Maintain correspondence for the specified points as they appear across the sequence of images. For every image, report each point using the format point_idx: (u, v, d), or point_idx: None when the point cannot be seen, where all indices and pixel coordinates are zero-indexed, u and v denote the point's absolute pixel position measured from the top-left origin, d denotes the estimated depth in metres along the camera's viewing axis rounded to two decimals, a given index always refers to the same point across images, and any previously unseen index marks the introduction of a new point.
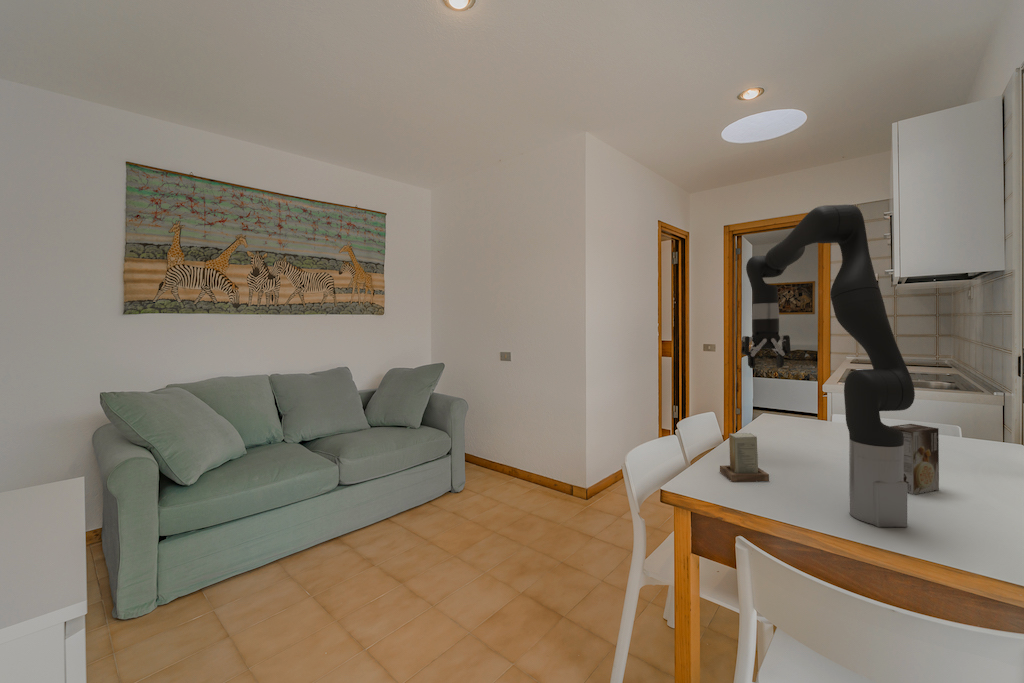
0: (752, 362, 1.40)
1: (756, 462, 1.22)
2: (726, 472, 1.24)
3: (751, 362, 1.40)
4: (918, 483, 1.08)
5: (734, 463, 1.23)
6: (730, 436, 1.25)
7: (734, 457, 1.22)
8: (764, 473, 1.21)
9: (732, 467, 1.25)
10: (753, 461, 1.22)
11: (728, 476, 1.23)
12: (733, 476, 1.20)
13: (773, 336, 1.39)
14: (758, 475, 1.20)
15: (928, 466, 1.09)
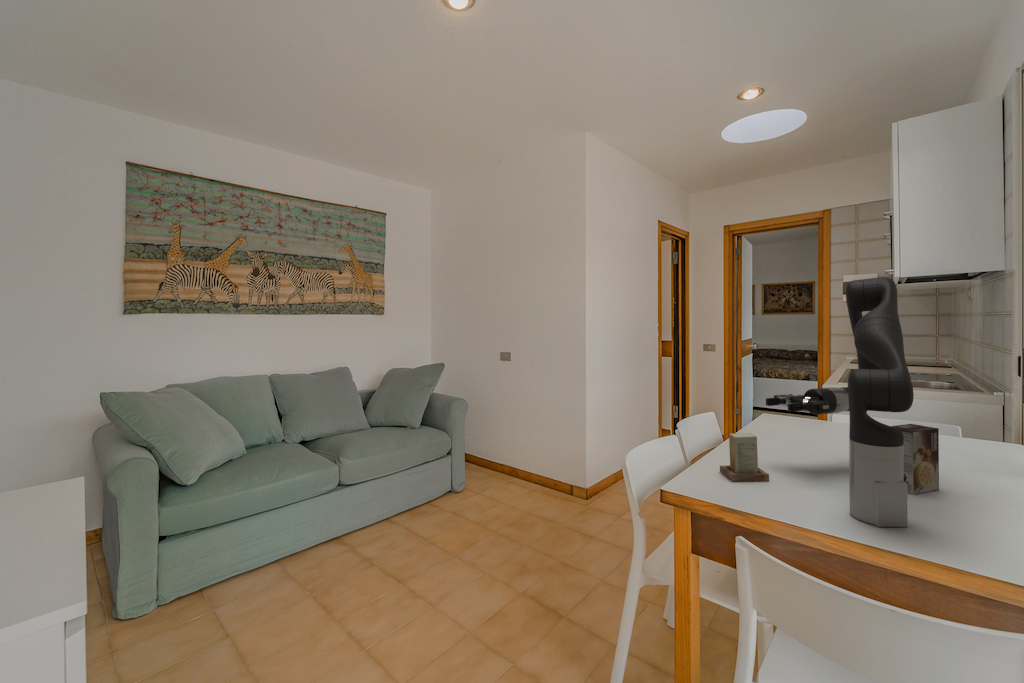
0: None
1: (756, 462, 1.22)
2: (726, 472, 1.24)
3: None
4: (918, 483, 1.08)
5: (734, 463, 1.23)
6: (730, 436, 1.25)
7: (734, 457, 1.22)
8: (764, 473, 1.21)
9: (732, 467, 1.25)
10: (753, 461, 1.22)
11: (728, 476, 1.23)
12: (733, 476, 1.20)
13: (813, 399, 1.24)
14: (758, 475, 1.20)
15: (928, 466, 1.09)
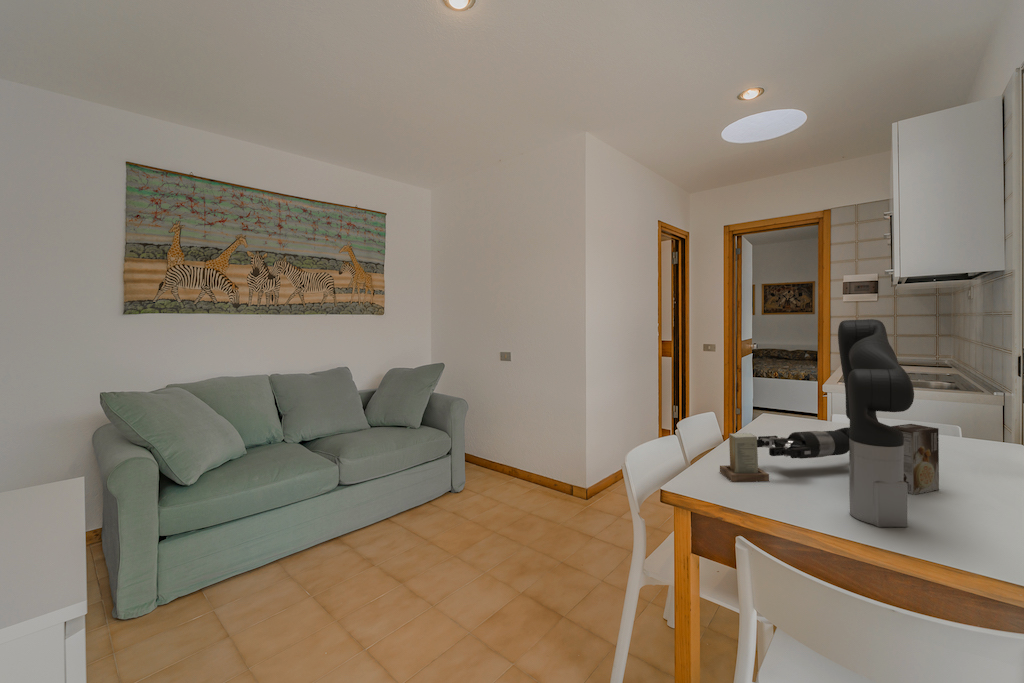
0: None
1: (756, 462, 1.22)
2: (726, 472, 1.24)
3: None
4: (918, 483, 1.08)
5: (734, 463, 1.23)
6: (730, 436, 1.25)
7: (734, 457, 1.22)
8: (764, 473, 1.21)
9: (732, 467, 1.25)
10: (753, 461, 1.22)
11: (728, 476, 1.23)
12: (733, 476, 1.20)
13: (796, 443, 1.24)
14: (758, 475, 1.20)
15: (928, 466, 1.09)
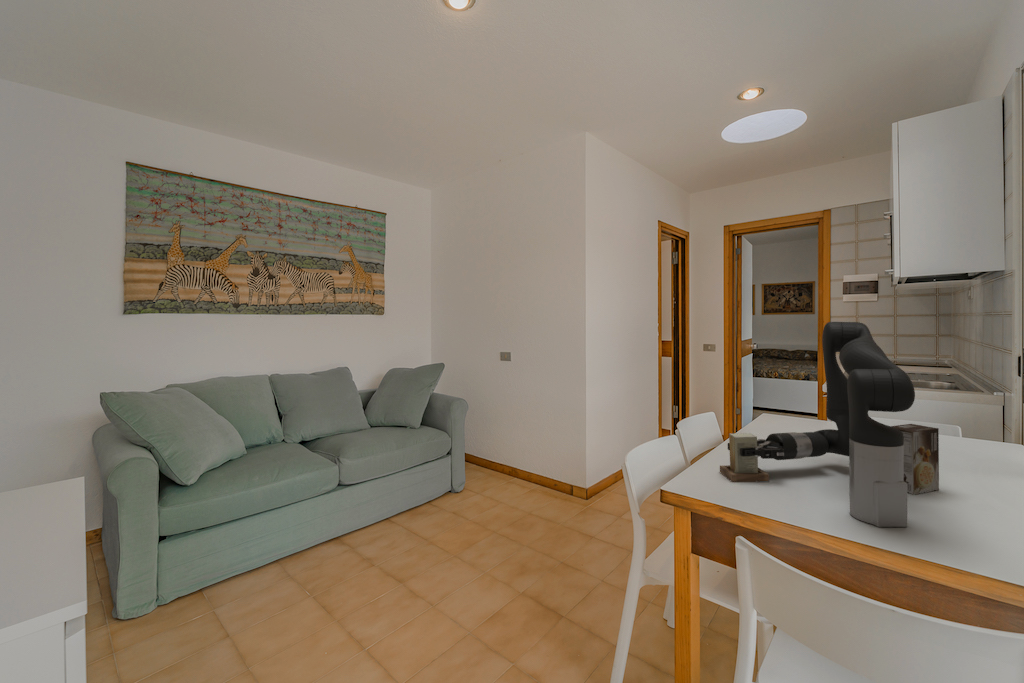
0: None
1: (756, 462, 1.22)
2: (726, 472, 1.24)
3: None
4: (918, 483, 1.08)
5: (734, 463, 1.23)
6: (730, 436, 1.25)
7: (734, 457, 1.22)
8: (764, 473, 1.21)
9: (732, 467, 1.25)
10: (753, 461, 1.22)
11: (728, 476, 1.23)
12: (733, 476, 1.20)
13: (774, 445, 1.23)
14: (758, 475, 1.20)
15: (928, 466, 1.09)
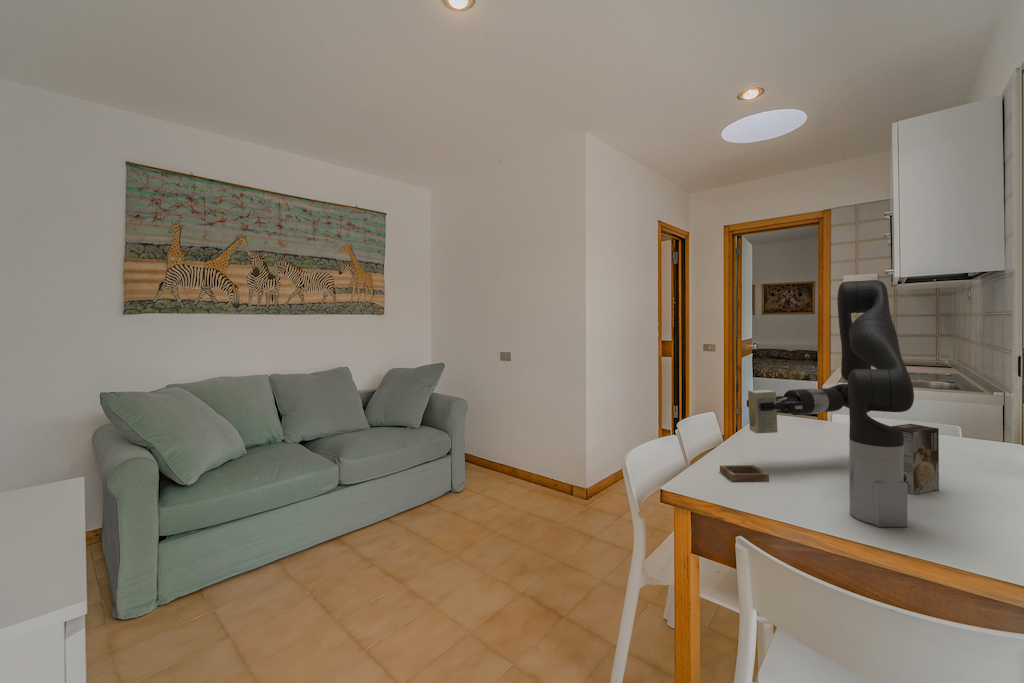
0: None
1: (775, 416, 1.26)
2: (726, 472, 1.24)
3: None
4: (918, 483, 1.08)
5: (754, 418, 1.27)
6: (749, 393, 1.29)
7: (754, 413, 1.27)
8: (764, 473, 1.21)
9: (752, 422, 1.29)
10: (773, 416, 1.26)
11: (728, 476, 1.23)
12: (733, 476, 1.20)
13: (792, 400, 1.27)
14: (758, 475, 1.20)
15: (928, 466, 1.09)
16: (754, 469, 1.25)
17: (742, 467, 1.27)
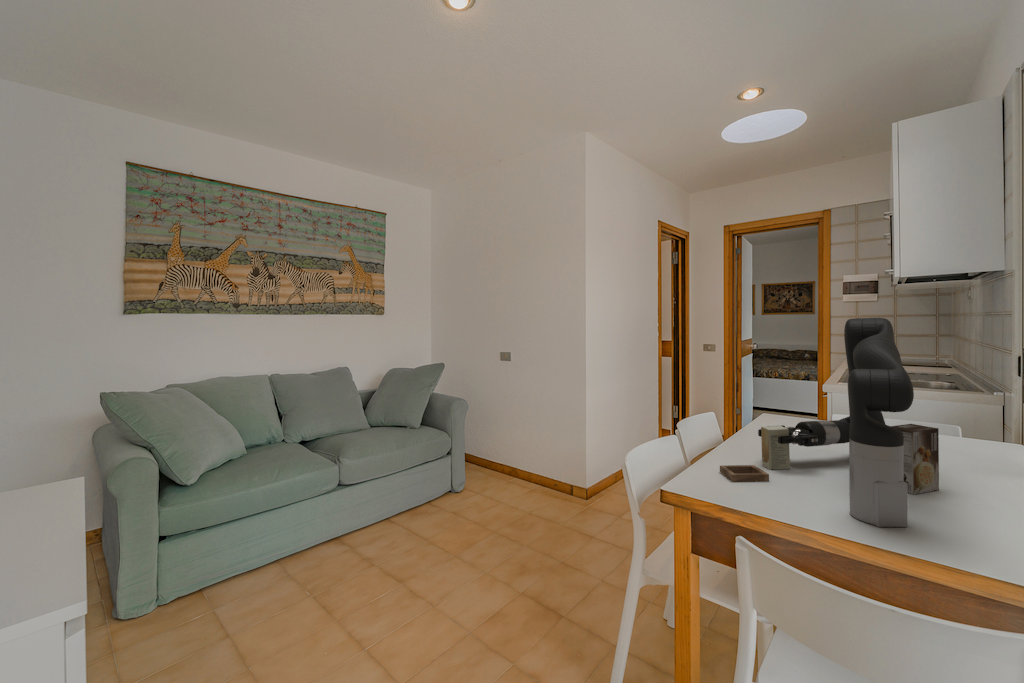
0: None
1: (788, 453, 1.29)
2: (726, 472, 1.24)
3: None
4: (918, 483, 1.08)
5: (767, 454, 1.30)
6: (762, 429, 1.32)
7: (768, 449, 1.29)
8: (764, 473, 1.21)
9: (765, 458, 1.32)
10: (785, 452, 1.29)
11: (728, 476, 1.23)
12: (733, 476, 1.20)
13: (804, 432, 1.30)
14: (758, 475, 1.20)
15: (928, 466, 1.09)
16: (754, 469, 1.25)
17: (742, 467, 1.27)
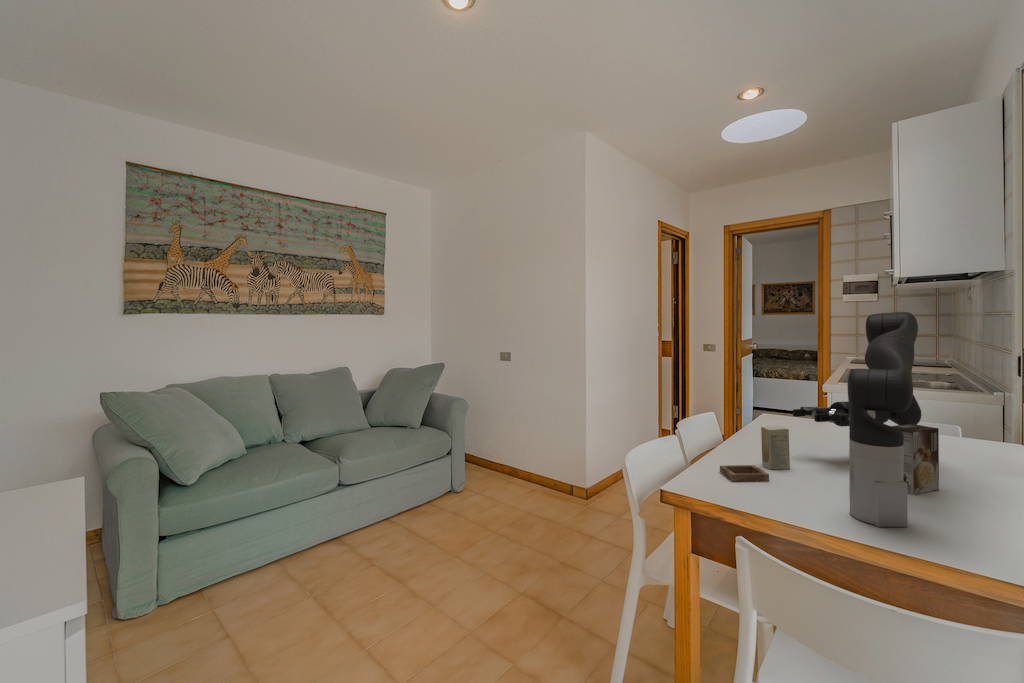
0: None
1: (788, 453, 1.29)
2: (726, 472, 1.24)
3: None
4: (918, 483, 1.08)
5: (767, 454, 1.30)
6: (762, 429, 1.32)
7: (768, 449, 1.29)
8: (764, 473, 1.21)
9: (765, 458, 1.32)
10: (785, 452, 1.29)
11: (728, 476, 1.23)
12: (733, 476, 1.20)
13: (839, 411, 1.31)
14: (758, 475, 1.20)
15: (928, 466, 1.09)
16: (754, 469, 1.25)
17: (742, 467, 1.27)
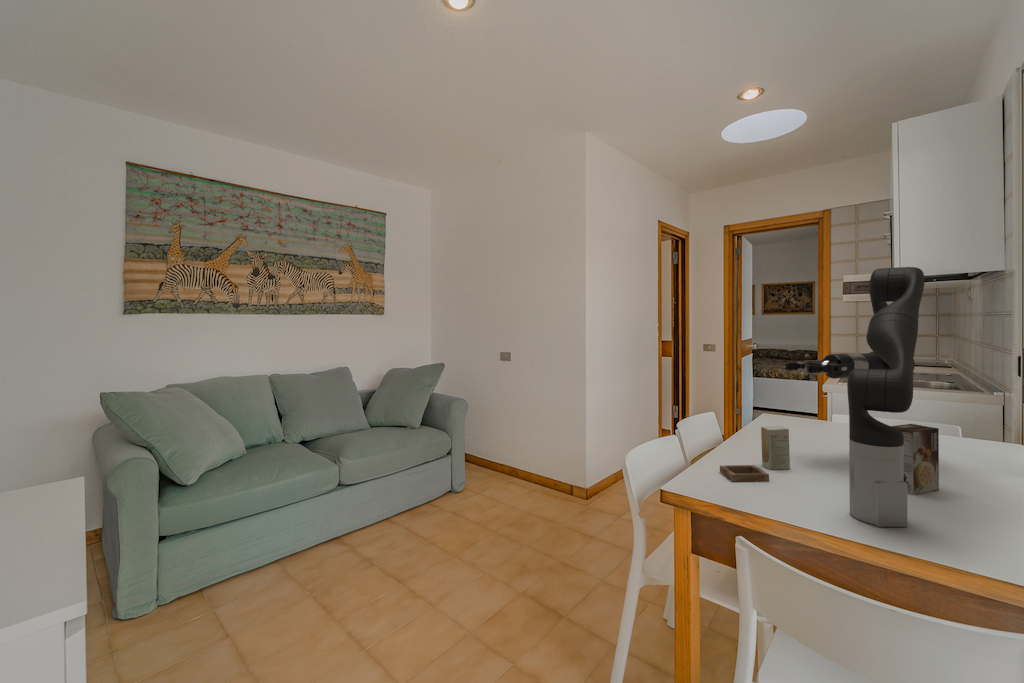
0: None
1: (788, 453, 1.29)
2: (726, 472, 1.24)
3: None
4: (918, 483, 1.08)
5: (767, 454, 1.30)
6: (762, 429, 1.32)
7: (768, 449, 1.29)
8: (764, 473, 1.21)
9: (765, 458, 1.32)
10: (785, 452, 1.29)
11: (728, 476, 1.23)
12: (733, 476, 1.20)
13: (832, 363, 1.30)
14: (758, 475, 1.20)
15: (928, 466, 1.09)
16: (754, 469, 1.25)
17: (742, 467, 1.27)
